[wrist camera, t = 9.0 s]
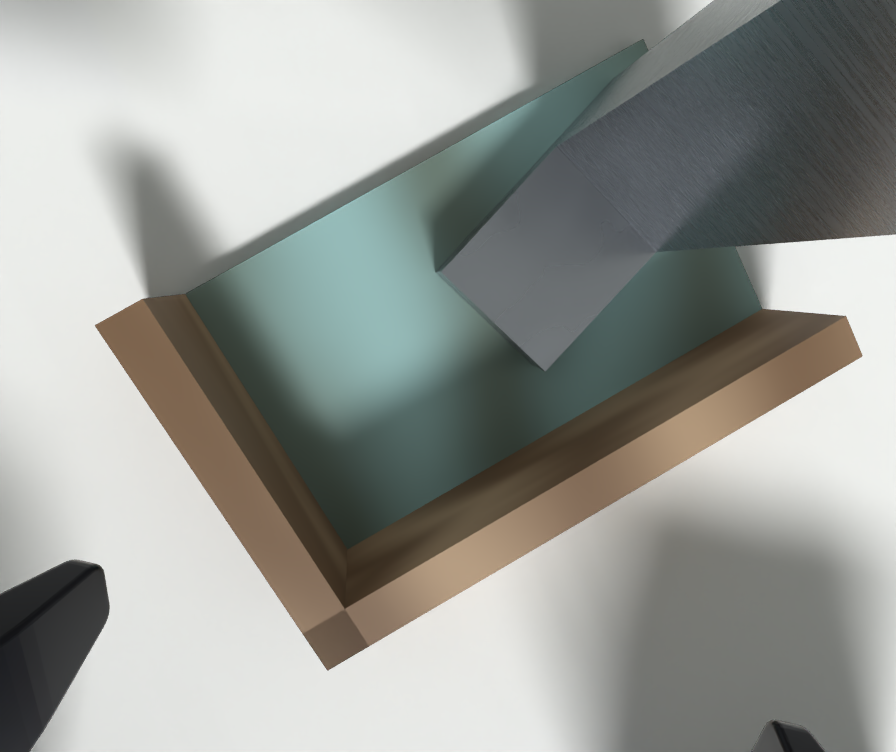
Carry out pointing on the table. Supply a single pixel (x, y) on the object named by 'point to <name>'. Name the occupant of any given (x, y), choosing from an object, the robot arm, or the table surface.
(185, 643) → the table surface
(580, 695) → the table surface
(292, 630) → the table surface
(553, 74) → the table surface
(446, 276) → the angle bracket
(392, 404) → the tray
